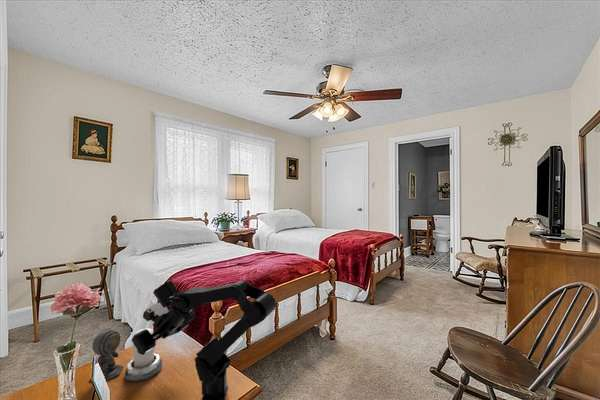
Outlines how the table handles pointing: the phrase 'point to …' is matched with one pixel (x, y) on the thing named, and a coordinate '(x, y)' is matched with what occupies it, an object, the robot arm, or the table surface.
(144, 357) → the white domed cylinder
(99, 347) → the figurine
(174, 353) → the table surface
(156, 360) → the mount
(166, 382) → the table surface
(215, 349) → the robot arm
